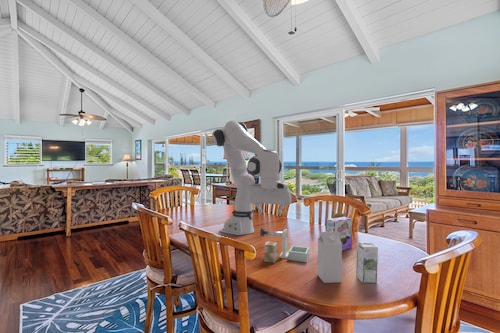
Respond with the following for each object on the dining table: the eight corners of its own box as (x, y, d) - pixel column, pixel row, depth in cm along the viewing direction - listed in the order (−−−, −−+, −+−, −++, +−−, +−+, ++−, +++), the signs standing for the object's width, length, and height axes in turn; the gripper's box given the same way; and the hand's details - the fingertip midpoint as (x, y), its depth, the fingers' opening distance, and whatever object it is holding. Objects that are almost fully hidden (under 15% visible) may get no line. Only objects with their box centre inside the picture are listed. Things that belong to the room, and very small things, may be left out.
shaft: (260, 237, 129) (260, 229, 129) (262, 234, 133) (262, 227, 133) (286, 240, 124) (286, 231, 124) (287, 237, 128) (287, 229, 128)
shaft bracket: (278, 258, 123) (279, 231, 123) (282, 252, 132) (283, 227, 131) (306, 262, 119) (307, 234, 119) (309, 255, 127) (309, 230, 127)
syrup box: (369, 276, 104) (370, 241, 104) (377, 283, 98) (378, 246, 98) (356, 276, 104) (356, 241, 104) (362, 283, 98) (363, 246, 98)
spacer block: (264, 261, 120) (264, 244, 119) (267, 257, 124) (267, 241, 124) (274, 262, 118) (274, 245, 118) (277, 258, 123) (277, 242, 122)
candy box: (333, 252, 131) (334, 221, 131) (325, 249, 136) (325, 218, 136) (352, 248, 137) (352, 218, 137) (343, 245, 143) (344, 216, 142)
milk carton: (317, 275, 106) (317, 229, 105) (334, 274, 106) (334, 229, 106) (323, 283, 98) (324, 234, 98) (341, 282, 99) (342, 234, 99)
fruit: (329, 238, 155) (329, 213, 155) (330, 233, 166) (331, 210, 165) (349, 240, 151) (349, 215, 151) (349, 235, 161) (349, 212, 161)
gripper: (246, 183, 121) (246, 212, 121) (289, 185, 113) (289, 216, 114) (251, 182, 127) (251, 210, 127) (292, 184, 119) (292, 213, 120)
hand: (269, 213), depth 120 cm, fingers open, 8 cm apart
